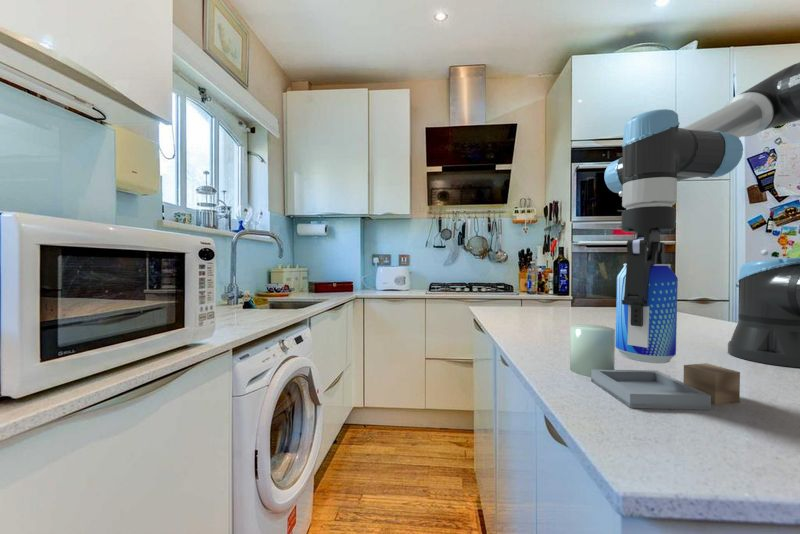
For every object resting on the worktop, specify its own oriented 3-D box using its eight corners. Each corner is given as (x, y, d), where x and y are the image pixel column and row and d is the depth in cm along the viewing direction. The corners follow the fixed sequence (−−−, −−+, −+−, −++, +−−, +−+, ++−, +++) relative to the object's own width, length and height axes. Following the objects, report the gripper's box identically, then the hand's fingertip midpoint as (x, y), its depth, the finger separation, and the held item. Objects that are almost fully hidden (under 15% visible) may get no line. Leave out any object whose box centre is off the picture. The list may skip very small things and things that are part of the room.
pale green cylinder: (601, 365, 76) (601, 324, 75) (623, 378, 68) (623, 332, 67) (563, 365, 76) (564, 324, 76) (580, 377, 68) (581, 331, 68)
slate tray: (656, 382, 65) (657, 370, 65) (710, 409, 53) (711, 395, 53) (591, 381, 66) (591, 369, 66) (629, 407, 54) (630, 393, 54)
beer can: (655, 352, 63) (657, 263, 63) (688, 365, 55) (691, 264, 55) (606, 350, 64) (608, 263, 64) (631, 363, 56) (634, 263, 56)
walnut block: (706, 391, 61) (706, 363, 61) (739, 403, 56) (740, 372, 56) (683, 393, 60) (683, 365, 60) (715, 405, 55) (715, 374, 55)
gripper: (639, 215, 69) (636, 330, 69) (601, 203, 55) (599, 347, 55) (687, 211, 63) (684, 336, 64) (660, 197, 49) (656, 357, 50)
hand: (645, 341), depth 59 cm, fingers closed on beer can, 8 cm apart
